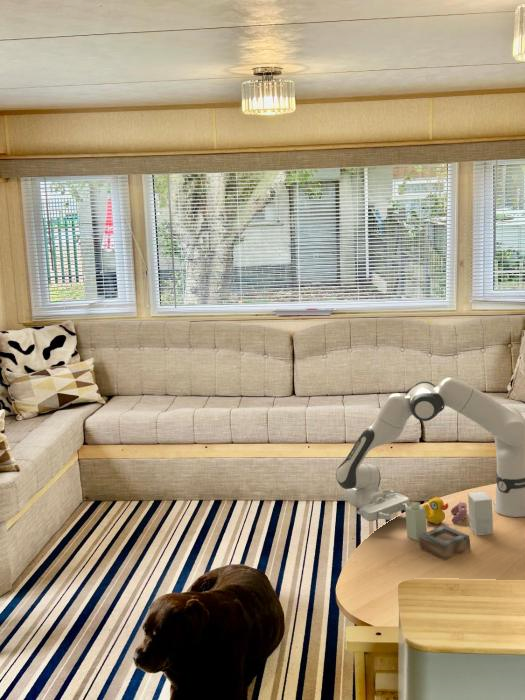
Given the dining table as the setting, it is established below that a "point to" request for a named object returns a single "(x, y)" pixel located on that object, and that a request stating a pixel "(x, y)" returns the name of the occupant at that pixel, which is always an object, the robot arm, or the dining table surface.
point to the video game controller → (459, 512)
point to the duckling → (435, 510)
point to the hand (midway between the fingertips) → (399, 513)
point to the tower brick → (415, 521)
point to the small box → (480, 513)
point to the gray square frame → (444, 542)
